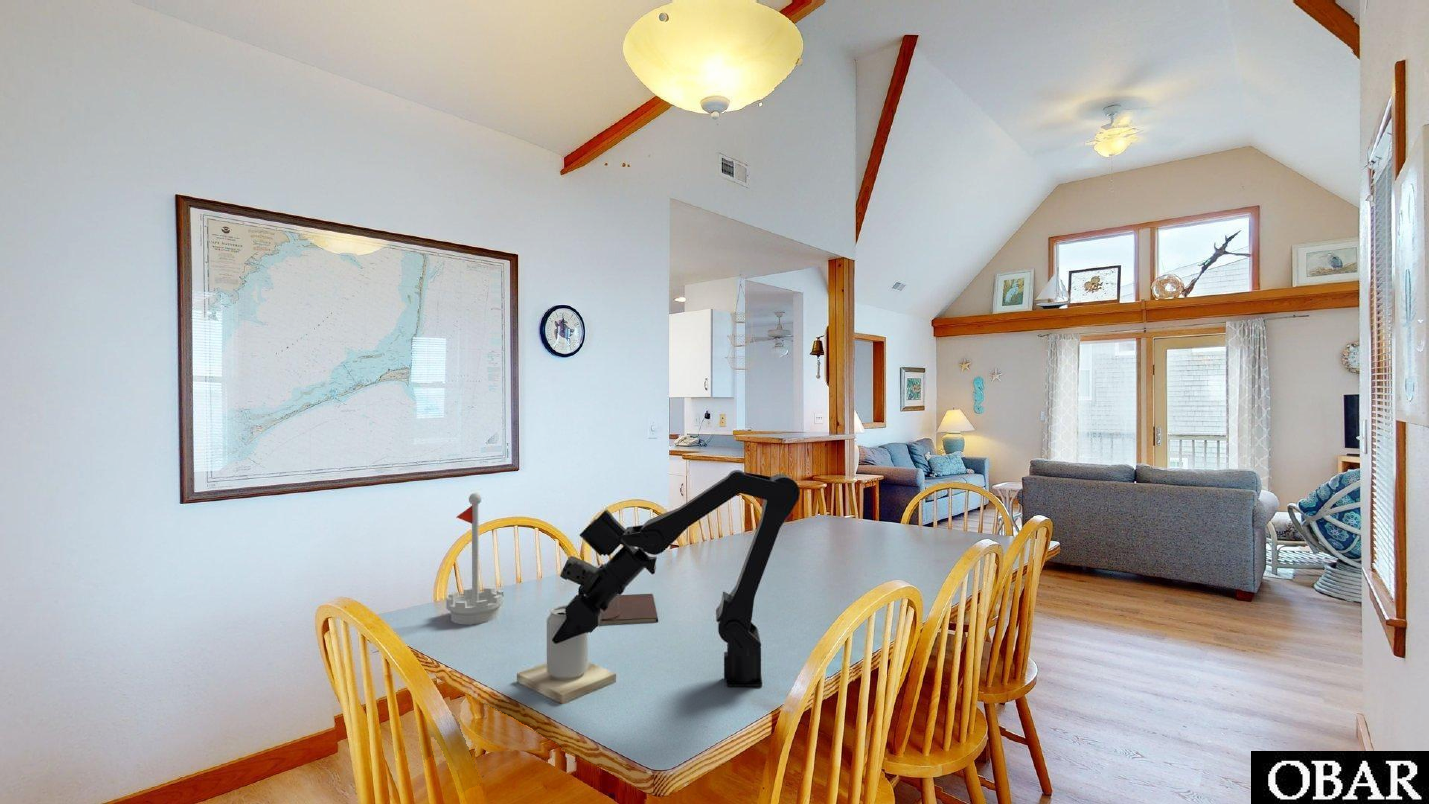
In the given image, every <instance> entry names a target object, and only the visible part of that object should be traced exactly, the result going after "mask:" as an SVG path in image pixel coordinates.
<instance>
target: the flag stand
mask: <svg viewBox="0 0 1429 804" xmlns="http://www.w3.org/2000/svg"><path fill="white" fill-rule="evenodd" d="M468 502H469V504H471V505H470V507H468V508H466V509H464V511H463V512H461V513H460V514H458V515H457V516H456V518H457V519H460V520H462V521H464V522H467V523H470V524H471V588H470V587H469V588H465V589H464V588H463V593H462V594H459V592H458V591H453V592H451V593H450V594H448V597H446V599H445V601H446V602H445V604H446V605H445V607H446V610H448V611H449V612H450V620H451V622H452V623H454V624H458V625H477V624H483V623H486V622H491V621H494V620H495V619H497V618H498V617H499V616H500V607H501V606H503V604H504V602H505V601H504V600H505V599H504V594H505V593H504V591H503V589H497V590H496V592H495V587H486V586H484V587H483V591H479V589H480V588H479V587H480V584H479V583H480V581H479V579H480V578H479V575H480V574H479V570H480V567H479V562H480V561H479V556H480V554H479V543H480V542H479V541H480V540H479V527H480V526H479V524H480V523H479V517H480V516H479V504H480V503H481V502H482V496H481V494H480V493H478V492H473V493H471V494H470V495H469V497H468Z"/></svg>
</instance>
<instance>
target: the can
mask: <svg viewBox="0 0 1429 804" xmlns="http://www.w3.org/2000/svg"><path fill="white" fill-rule="evenodd" d="M567 605H568V604H565V605H560V606H556V607H553V608H551V610H550V614H549V616H548V617H547V618H546V663H547V672H548V674H550V675H551V676H552V677H553V678H555V679H558V680H570V679H575V678H578V677H580V676H581V675H582V674H583V673H584V672H585V671H586V670H587V669H588V662H589V633H584V634H581V635H578V636H575V637H573V638H570V639H568V640H565V641H563V642H560V643H558V644H555V643H554V642H553V641H552V638H553V637H554V636H555V634H556V633H557V631H558V630H559V628H560V627H561V625H562V624H563V622H564V621H565V619H566V612H565V608H566V606H567Z"/></svg>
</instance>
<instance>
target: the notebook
mask: <svg viewBox="0 0 1429 804" xmlns="http://www.w3.org/2000/svg"><path fill="white" fill-rule="evenodd" d="M600 611H601V621H600V623H599V625H598V626H602V625H601V624H610V625H619V624H618V623H629V624H645V623H659V618H658V611H657V608H656V603H655V598H654V594H653V593H638V594H637V593H634V594H632V593H631V594H621V595H618V596H617V597H616V598H615V599H614V600H613V601H612V602H611V603H610V604H609V606H608V608H607V609H606V610H605V611H603V610H602V609H601V610H600Z"/></svg>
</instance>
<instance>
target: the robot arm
mask: <svg viewBox="0 0 1429 804" xmlns="http://www.w3.org/2000/svg"><path fill="white" fill-rule="evenodd" d="M740 494H742V495H747V496H749V497H754V498H757V499H761V500H762V506H761V515H760V519H759V521H758V525H757V526H756V527H757V528H756V530H755V533H754V534H753V535H754V536H753V539H752V541H751V543H750V547H749V549H748V552H747V555H746V558H745V560H744V563H743V566H742V568H741V570H740V574H739V576H738V579H737V581H736V584H735V586H734V588H733V589H732V590H731V591H730V592H729V593H727V592H726V591H725V590H724V591H722V595H721V599H720V600H721V601H720V603H719V605H718V607H717V608H716V609H715V619H716V622H717V628H718V629H717V632H718V635H719V636H720V639H722V640H723V642H725V643H727V644H726V648H727V649H726V651H724V653H723V679H724V680H726V686H727V687H762V686H763V680H762V678H763V677H762V642H761V638H760V633H759V628H758V627H757V626H756V625H755V624H754V623H753V622H752V619H753V613H754V606H755V605H754V604H755V597H756V594H757V591H758V589H759V586H760V584H761V580H762V578H763V576H764V573H765V570H766V568H767V565H768V562H769V559H770V556H771V554H772V552H773V548H774V546H775V543H776V540H777V537H778V535H779V532H780V529H781V528H782V526H783V525H784V523H785V522H786V520H788V518H789V517H790V515H791V514H792V511H793V510H794V509H795V507H796V505H797V503H798V502H799V500H800V495H801V491H800V487H799V486H798V483H797V482H795V480H794V479H792V478H791V477H790V476H788V475H787V474H784V473H777V474H776V473H775V474H773V475H772V476H768V475H764V474H758V473H752V472H745V471H743V470H740V469H735V470H732V471H730V472H729V474H727V476H725V477H724V478H722V479H721V480H719V481H717V482H716V483H714V484H713V485H711V486H710V487H708V488H706V489H705V490H704V491H702V492H701V493H699V494H697V495H696V496H695V497H692V499H690V500H688V501H687V502H686V503H684V504H682V505H680V506H679V507H678V508H675V509H672V510H670V511H667V512H664V513H661V514H659V515H657V516H655V517H652V518H649V519H648V520H646V522H645V523H643V524H641V525H634V526H627V527H626V528H625V527H624V526H623V525H622V524H621V523H620V522H619V521H617V519H616V518H615V517H614V515H613V514H612V513H611V512H610V511H609V509H605V510H604V511H603V512H601V514H599V516H598V517H597V518H594V519H593V520H592V521H591V522H590V524H589V525H587V526H586V527H585V528H584V529H583V530H582V532H580V534H579V535H578V536H579V537H581V539H582V540H584V541H585V543H586V544H587V545H589V547H590V548H592V549H593V550H594V551H595V552H596V554H598V556H600V557H601V556H604V557H605V556H608V557H610V556H611V555H612V554H613V553H614V552H615V551H616V550H617V549H618V548H619V547H620V546H622V547H621V548H620V549H619V550H618V551H616V553H615V554H614V555H613V556H612V557H611V558H610V559H609V560H608V561H607V562H605V563H604V564H603V563H602V564H601V565H600V566H599V567H597V566H594V565H593V564H591V563H589V562H587V561H585V560H583V559H580V558H578V557H576V556H574V555H573V556H572V555H570V556H569V557H568V558H567V560H566V561H565V564H564V566H563V568H562V570H561V573H560V575H559V576H560V578H561V579H564V580H566V581H567V580H568V581H571V582H573V583H575V584H577V585H579V587H578V591H577V592H578V593H577V594H576V595H575V596H574V597H573V598H572V599H571V600H570V601H569V602H568V603H567V604H566V605H567V606H566V608H565V612H566V619H565V621H564V622H563V624H562V625H561V627H560V628H559V630H558V631H557V633H556V634H555V636H554V637H553V638H552V641H553V642H554V643H555V644H558V643H560V642H563V641H565V640H568V639H570V638H573V637H575V636H578V635H581V634H584V633H588V634H589V633H590V634H591V633H592V632H593V631H594V630H595V629H596V628H597V627H598V626H600V625H599V623H600V621H601V611H600V610H601V609H602V610H603V611H605V610H606V609H607V608H608V606H609V604H610V603H611V602H612V601H613V600H614V599H615V598H616V597H617V596H618V595H623V593H624V592H625V589H626V588H627V587H628V586H629V584H630V585H631V583H632V582H633V581H634V579H636V578H637V576H638V575H640V574H641V572H642V571H644V570H647V571H648V572H649V573H650V574H651V575H655V574H656V571H657V565H656V563H657V560H658V558H657V555H660V554H662V553H663V552H665V551H666V550H667V549H668V548H669V547H670V546H671V545H672V544H673V543H675V541H676V540H677V539H678V538H680V536H681V535H682V534H683V533H684V531H686V529H688V528H689V527H690V526H692V525H693V524H695V523H696V522H698V521H699V520H701V519H703V518H704V517H706V516H708V515H709V514H710V513H712V512H713V511H716V509H718V508H719V507H721V506H722V505H724V504H726V503H727V502H728V501H730V500H731V499H734V498H735V497H736V496H738V495H740ZM649 555H653V556H649Z"/></svg>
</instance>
